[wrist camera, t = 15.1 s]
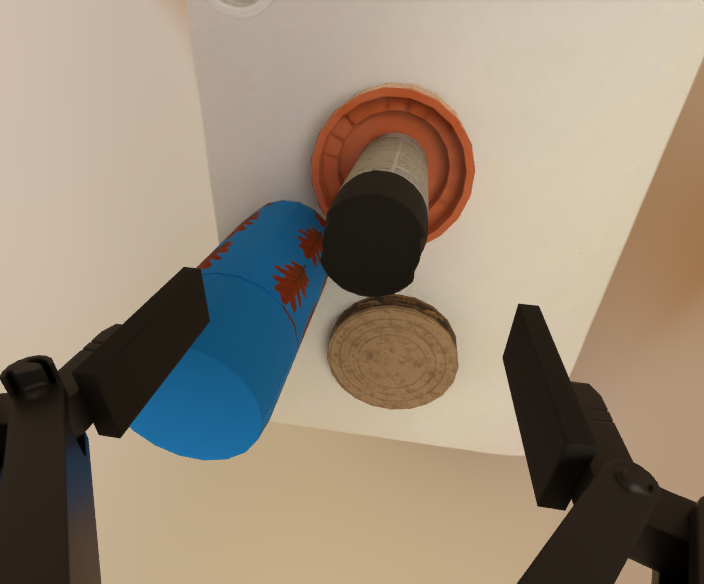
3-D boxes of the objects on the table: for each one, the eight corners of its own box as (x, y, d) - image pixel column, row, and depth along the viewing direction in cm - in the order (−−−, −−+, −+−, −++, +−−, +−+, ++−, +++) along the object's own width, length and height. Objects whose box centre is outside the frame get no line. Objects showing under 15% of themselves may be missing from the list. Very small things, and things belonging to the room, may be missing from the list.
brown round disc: (478, 318, 49) (481, 333, 46) (428, 406, 57) (429, 423, 55) (350, 276, 48) (346, 289, 46) (319, 371, 57) (314, 387, 54)
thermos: (298, 180, 43) (178, 310, 22) (355, 259, 47) (298, 434, 26) (226, 229, 48) (68, 378, 27) (283, 298, 52) (185, 477, 30)
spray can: (354, 191, 43) (307, 288, 26) (367, 122, 39) (322, 182, 22) (417, 205, 42) (413, 313, 25) (436, 137, 39) (445, 210, 22)
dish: (323, 78, 38) (310, 82, 34) (482, 87, 37) (490, 93, 32) (322, 224, 46) (312, 243, 41) (455, 237, 44) (458, 257, 40)
